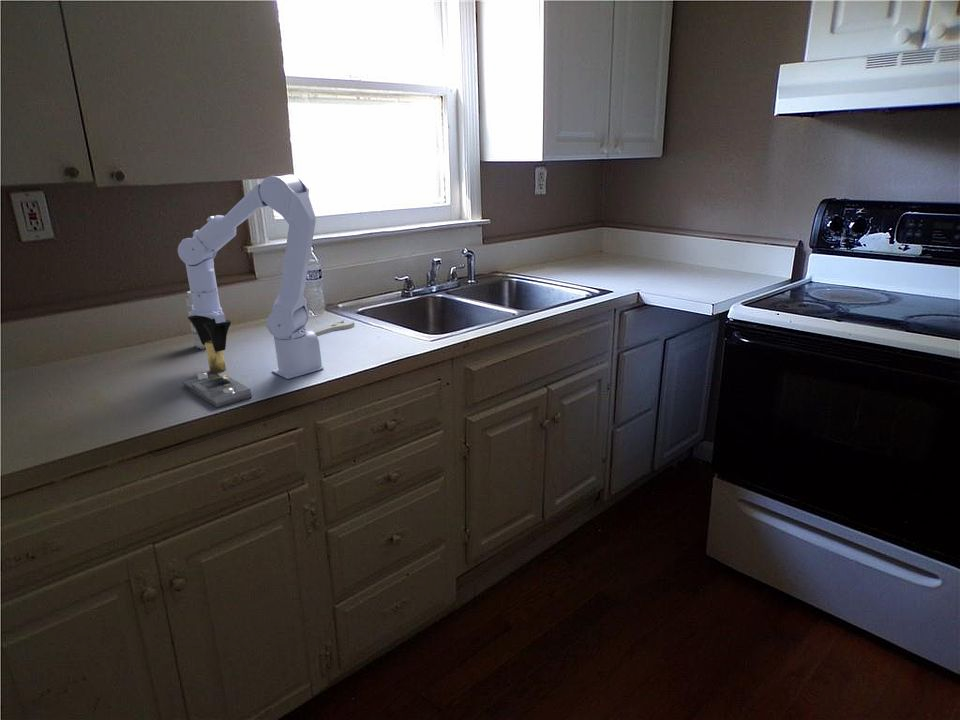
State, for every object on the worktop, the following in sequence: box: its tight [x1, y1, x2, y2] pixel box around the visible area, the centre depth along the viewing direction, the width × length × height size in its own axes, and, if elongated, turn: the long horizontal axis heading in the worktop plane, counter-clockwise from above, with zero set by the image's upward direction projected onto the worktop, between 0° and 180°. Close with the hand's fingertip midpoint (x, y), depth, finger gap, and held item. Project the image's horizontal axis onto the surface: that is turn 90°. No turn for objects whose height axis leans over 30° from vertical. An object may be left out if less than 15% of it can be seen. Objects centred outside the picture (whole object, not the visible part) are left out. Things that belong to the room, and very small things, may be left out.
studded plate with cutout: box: [182, 371, 252, 408], centre depth 135 cm, size 7×18×2 cm, turn 44°
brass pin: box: [205, 341, 227, 374], centre depth 148 cm, size 4×4×7 cm
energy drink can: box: [185, 290, 206, 350], centre depth 165 cm, size 6×6×15 cm
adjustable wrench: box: [312, 319, 355, 337], centre depth 176 cm, size 25×6×2 cm, turn 138°
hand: (213, 347), depth 147 cm, fingers open, 7 cm apart
